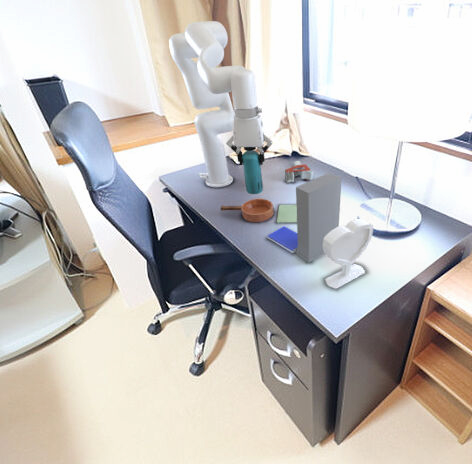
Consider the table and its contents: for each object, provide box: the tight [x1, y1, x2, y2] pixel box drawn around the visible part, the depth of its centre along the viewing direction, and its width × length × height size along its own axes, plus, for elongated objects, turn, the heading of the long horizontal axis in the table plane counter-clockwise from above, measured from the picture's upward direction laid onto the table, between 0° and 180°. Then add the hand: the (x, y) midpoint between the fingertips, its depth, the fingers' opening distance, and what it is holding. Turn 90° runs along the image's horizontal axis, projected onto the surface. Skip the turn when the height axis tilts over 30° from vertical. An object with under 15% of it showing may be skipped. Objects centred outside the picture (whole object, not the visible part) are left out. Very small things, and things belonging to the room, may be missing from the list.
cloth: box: [276, 204, 297, 224], centre depth 126 cm, size 10×13×1 cm
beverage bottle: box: [242, 147, 264, 195], centre depth 116 cm, size 6×7×20 cm
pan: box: [240, 198, 274, 223], centre depth 125 cm, size 12×12×4 cm
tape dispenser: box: [284, 160, 315, 183], centre depth 153 cm, size 18×5×20 cm
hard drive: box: [267, 226, 298, 254], centre depth 111 cm, size 2×8×12 cm
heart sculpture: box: [323, 218, 374, 289], centre depth 91 cm, size 16×5×18 cm, turn 125°
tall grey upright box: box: [295, 172, 342, 263], centre depth 99 cm, size 14×6×25 cm, turn 133°
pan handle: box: [220, 205, 242, 211], centre depth 125 cm, size 8×2×1 cm, turn 89°
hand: (251, 163), depth 114 cm, fingers closed on beverage bottle, 6 cm apart
